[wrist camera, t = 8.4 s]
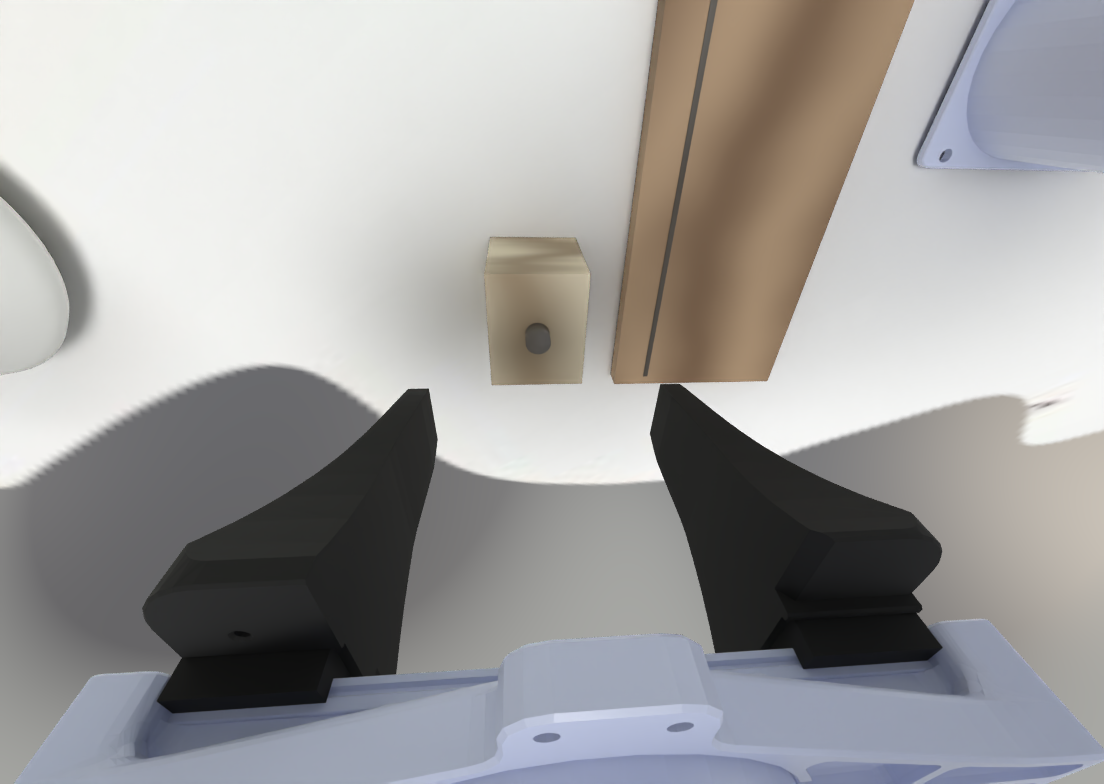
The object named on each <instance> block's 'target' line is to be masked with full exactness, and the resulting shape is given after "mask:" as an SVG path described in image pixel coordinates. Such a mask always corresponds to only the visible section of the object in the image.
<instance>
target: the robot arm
mask: <svg viewBox="0 0 1104 784" xmlns="http://www.w3.org/2000/svg"><path fill="white" fill-rule="evenodd" d="M943 151H945V153H944V156H943V157H942V158H941V159H940V160H939V158H940V155H941V154H942V152H943ZM917 164H918V165H919V166H920V167H924V168H944V169H993V170H1042V171H1091V172H1099V173H1104V0H990V1H989V3H988V5H987V7H986V9H985V12H984V14H983V16H982V18H981V20H980V22H979V24H978V27H977V29H976V31H975V33H974V35H973V37H972V40H971V42H970V44H969V46H968V48H967V50H966V53H965V55H964V57H963V59H962V61H961V63H960V66H959V68H958V70H957V72H956V74H955V76H954V78H953V81H952V83H951V85H950V87H949V89H948V91H947V94H946V96H945V98H944V100H943V102H942V104H941V107H940V109H939V111H938V113H937V115H936V117H935V120H934V122H933V124H932V126H931V128H930V130H929V132H928V135H927V137H926V139H925V141H924V143H923V145H922V148H921V150H920V152H919V154H918V157H917ZM650 436H651V440H652V444H653V448H654V452H655V456H656V460H657V463H658V465H659V468H660V470H661V473H662V475H663V478H664V480H665V483H666V485H667V487H668V490H669V492H670V495H671V497H672V499H673V502H674V504H675V507H676V509H677V512H678V514H679V517H680V519H681V522H682V524H683V527H684V530H685V533H686V536H687V540H688V543H689V547H690V550H691V554H692V557H693V561H694V565H695V568H696V572H697V576H698V580H699V583H700V587H701V591H702V595H703V600H704V604H705V608H706V612H707V617H708V621H709V625H710V630H711V635H712V639H713V644H714V649H715V653H712V654H704V652H703V649H702V646H701V645H700V644H698V643H696V642H695V641H693V640H691V639H689V638H687V637H685V636H683V635H678V634H663V633H658V634H641V635H624V636H610V637H609V636H608V637H594V638H593V637H592V638H576V639H561V640H547V641H543V642H537V643H531V644H526V645H524V646H522V647H520V648H518V649H516V650H515V651H513V652H511V653H509V654H508V655H507V656H506V657H505V658H504V660H503V662H502V664H501V666H500V668H486V669H471V670H457V671H441V672H426V673H411V674H396V669H397V661H398V652H399V643H400V634H401V627H402V619H403V610H404V604H405V596H406V590H407V583H408V576H409V569H410V564H411V558H412V551H413V545H414V541H415V536H416V531H417V527H418V524H419V521H420V517H421V513H422V510H423V506H424V502H425V499H426V495H427V492H428V488H429V484H430V480H431V477H432V473H433V469H434V463H435V456H436V448H437V440H438V439H437V433H436V428H435V422H434V416H433V411H432V405H431V399H430V393H429V389H408V390H407V391H406V392H405V393H404V394H403V395H402V396H401V397H400V398H399V399H398V400H397V401H396V402H395V403H394V404H393V405H392V406H391V408H390V409H389V410H388V411H387V412H386V413H385V414H384V415H383V416H382V417H381V418H380V419H379V420H378V421H377V422H376V423H375V424H374V425H373V426H372V427H371V428H370V429H369V430H368V431H367V432H366V433H365V434H364V435H363V436H362V437H361V438H359V440H357V441H356V442H355V443H354V444H353V445H352V446H351V447H350V448H348V450H346V451H345V452H344V453H343V454H341V455H340V456H339V457H338V458H336V459H335V460H334V461H332V462H331V463H330V464H328V465H327V466H326V467H324V468H323V469H322V470H320V471H319V472H318V473H316V474H315V475H314V476H312V477H310V478H309V479H307V480H306V481H305V482H303V483H301V484H300V485H298V486H297V487H295V488H294V489H292V490H290V491H289V492H288V493H286V494H284V495H283V496H281V497H279V498H278V499H276V500H274V501H272V502H271V503H269V504H267V505H266V506H264V507H262V508H260V509H258V510H256V511H254V512H253V513H251V514H249V515H248V516H245V517H243V518H241V519H239V520H238V521H235V522H234V523H232V524H229V525H227V526H225V527H223V528H221V529H219V530H217V531H214V532H212V533H210V534H208V535H206V536H204V537H202V538H200V539H198V540H195V541H193V542H191V543H188V544H187V545H186V547H185V548H184V549H183V550H182V552H181V553H180V554H179V556H178V557H177V559H176V560H175V561H174V563H173V564H172V565H171V567H170V568H169V569H168V571H167V572H166V574H165V575H164V576H163V578H162V579H161V581H160V582H159V583H158V585H157V586H156V587H155V589H154V590H153V591H152V593H151V594H150V596H149V597H148V598H147V600H146V602H145V604H144V606H143V608H142V609H143V614H144V619H145V621H146V622H147V624H148V625H149V626H150V627H151V629H152V630H153V631H154V632H155V633H156V634H157V635H158V636H159V637H160V638H162V639H163V640H164V641H165V642H166V643H167V644H168V645H169V646H170V647H171V648H172V649H173V650H174V651H175V652H176V653H178V654H179V655H180V656H181V657H182V659H181V660H180V662H179V664H178V665H177V667H176V669H175V671H174V672H173V674H172V676H171V675H169V674H167V673H162V672H154V671H153V672H152V671H146V672H130V673H115V674H99V675H96V676H93V677H91V678H90V679H89V681H88V682H87V683H86V685H85V686H84V687H83V689H82V690H81V692H80V693H79V694H78V696H77V697H76V699H75V700H74V701H73V703H72V704H71V705H70V707H69V708H68V709H67V711H66V712H65V714H64V715H63V716H62V718H61V719H60V720H59V722H58V723H57V725H56V726H55V727H54V729H53V730H52V732H51V733H50V734H49V736H48V737H47V739H46V740H45V741H44V743H43V744H42V745H41V747H40V748H39V749H38V751H37V752H36V754H35V755H34V756H33V758H32V759H31V760H30V762H29V763H28V765H27V766H26V767H25V769H24V770H23V771H22V773H21V774H20V776H19V777H18V778H17V780H16V781H15V782H14V784H1047V783H1050V782H1052V781H1055V780H1057V779H1060V778H1062V777H1065V776H1067V775H1070V774H1073V773H1075V772H1078V771H1080V770H1083V769H1085V768H1088V767H1091V766H1093V765H1095V764H1098V763H1101V762H1103V761H1104V749H1103V747H1102V746H1101V745H1100V744H1099V743H1098V742H1097V741H1096V740H1095V738H1094V737H1093V736H1092V735H1091V734H1090V733H1089V732H1088V731H1087V729H1086V728H1085V727H1084V726H1083V725H1082V724H1081V723H1080V722H1079V721H1078V720H1077V719H1076V717H1075V716H1074V715H1073V714H1072V713H1071V712H1070V711H1069V709H1068V708H1067V707H1066V706H1065V705H1064V704H1063V703H1062V702H1061V700H1060V699H1059V698H1058V697H1057V696H1056V695H1055V694H1054V693H1053V692H1052V690H1051V689H1050V688H1049V687H1048V686H1047V685H1046V684H1045V683H1044V682H1043V680H1042V679H1041V678H1040V677H1039V676H1038V675H1037V674H1036V673H1035V671H1034V670H1033V669H1032V668H1031V667H1030V666H1029V665H1028V664H1027V663H1026V661H1025V660H1024V659H1023V658H1022V657H1021V656H1020V655H1019V654H1018V652H1016V650H1015V649H1014V648H1013V647H1012V646H1011V645H1010V644H1009V642H1008V641H1007V640H1006V639H1005V638H1004V637H1003V636H1002V635H1001V634H1000V632H999V631H998V630H997V629H996V628H995V627H994V626H993V625H992V624H991V622H990V621H989V620H986V619H969V620H953V621H942V622H937V623H934V624H931V625H929V626H926V625H925V624H924V622H923V621H922V620H921V619H920V617H919V616H918V615H917V613H919V612H920V611H921V610H922V605H921V604H920V603H919V602H918V600H917V599H916V598H915V596H914V595H913V594H912V592H913V591H914V590H915V589H916V588H917V587H918V586H919V585H920V584H921V583H922V582H923V581H924V580H925V578H926V577H927V576H928V575H929V574H930V573H931V572H932V571H933V570H934V569H935V567H936V566H937V565H938V563H939V561H940V558H941V554H942V548H941V545H940V543H939V542H938V541H937V540H936V538H935V537H934V536H933V535H932V534H931V533H930V532H929V531H928V530H927V529H926V528H925V527H924V526H923V525H922V524H921V522H920V521H919V520H918V519H917V518H916V517H915V516H914V515H913V514H912V513H911V512H908V511H906V510H903V509H900V508H897V507H894V506H891V505H888V504H886V503H883V502H880V501H877V500H874V499H871V498H869V497H865V496H863V495H861V494H858V493H856V492H853V491H851V490H849V489H846V488H844V487H841V486H839V485H837V484H834V483H832V482H830V481H828V480H825V479H823V478H821V477H819V476H817V475H815V474H813V473H811V472H809V471H807V470H805V469H803V468H801V467H799V466H797V465H795V464H793V463H791V462H789V461H787V460H786V459H784V458H782V457H780V456H779V455H777V454H775V453H774V452H772V451H770V450H769V449H767V448H765V447H764V446H762V445H760V444H759V443H757V442H756V441H754V440H753V439H751V438H750V437H748V436H747V435H746V434H744V433H743V432H741V431H740V430H738V429H737V428H736V427H734V426H733V425H731V424H730V423H729V422H727V421H726V420H725V419H723V418H722V417H721V416H720V415H718V414H717V413H716V412H714V411H713V410H712V409H711V408H709V407H708V406H707V405H706V404H704V403H703V402H702V401H701V400H699V399H698V398H697V397H696V396H694V395H693V394H692V393H691V392H689V391H688V390H687V389H686V388H684V387H683V386H682V385H680V384H660V389H659V393H658V398H657V403H656V408H655V412H654V417H653V422H652V426H651V431H650Z"/></svg>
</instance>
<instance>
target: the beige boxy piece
mask: <svg viewBox="0 0 1104 784" xmlns="http://www.w3.org/2000/svg"><path fill="white" fill-rule="evenodd" d="M590 276H591V274H590V272H589V269H588V267H587V264H586V262H585V260H584V257H583V255H582V252H581V250H580V248H579V245H578V243H577V240H576V238H549V237H490V242H489V248H488V254H487V260H486V266H485V272H484V280H485V295H486V309H487V324H488V339H489V353H490V368H491V382H492V385H528V384H581V383H582V374H583V362H584V350H585V338H586V325H587V313H588V301H589V288H590Z"/></svg>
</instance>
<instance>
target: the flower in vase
mask: <svg viewBox="0 0 1104 784" xmlns="http://www.w3.org/2000/svg"><path fill="white" fill-rule="evenodd" d="M68 322H69V300H68V295H67V290H66V287H65V284H64V282H63V279H62V276H61V274H60V272H59V270H58V268H57V266H56V264H55V262H54V260H53V258H52V257H51V255H50V254H49V252H48V251H47V249H46V247H45V246H44V244H43V243H42V242H41V240H40V239H39V238H38V236H37V235H36V234H35V233H34V231H33V230H32V229H31V228H30V226H29V225H28V224H27V223H26V222H25V221H24V220H23V219H22V218H21V217H20V215H19V214H18V213H17V212H16V211H15V210H14V209H13V208H12V207H11V206H10V205H9V204H8V203H7V202H6V201H5V200H3V199H2V198H1V197H0V375H4V374H9V373H15V372H19V371H23V370H27V369H31V368H33V367H36V366H38V365H40V364H42V363H44V362H45V361H47V360H48V359H50V358H51V357H52V356H53V355H54V354H55V353H56V352H57V351H58V350H59V349H60V347H61V345H62V343H63V341H64V339H65V337H66V332H67V328H68Z"/></svg>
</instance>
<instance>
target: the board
mask: <svg viewBox="0 0 1104 784" xmlns="http://www.w3.org/2000/svg"><path fill="white" fill-rule="evenodd" d="M913 3H914V0H658V7H657V15H656V23H655V30H654V38H653V46H652V54H651V62H650V70H649V78H648V85H647V93H646V101H645V109H644V117H643V125H642V133H641V141H640V148H639V156H638V164H637V172H636V180H635V188H634V196H633V204H632V211H631V219H630V227H629V235H628V243H627V251H626V259H625V266H624V274H623V282H622V290H621V298H620V306H619V314H618V322H617V329H616V337H615V345H614V353H613V361H612V369H611V376H612V379H613V382H614V384H635V383H689V382H743V381H767V380H768V378H769V375H770V373H771V370H772V367H773V365H774V362H775V360H776V357H777V354H778V352H779V349H780V347H781V344H782V341H783V339H784V336H785V334H786V331H787V329H788V326H789V323H790V321H791V318H792V316H793V313H794V310H795V308H796V305H797V303H798V300H799V298H800V295H801V292H802V290H803V287H804V285H805V282H806V279H807V277H808V274H809V272H810V269H811V267H812V264H813V261H814V259H815V256H816V254H817V251H818V248H819V246H820V243H821V241H822V238H823V235H824V233H825V230H826V228H827V225H828V223H829V220H830V217H831V215H832V212H833V210H834V207H835V204H836V202H837V199H838V197H839V194H840V192H841V189H842V186H843V184H844V181H845V179H846V176H847V173H848V171H849V168H850V166H851V163H852V161H853V158H854V155H855V153H856V150H857V148H858V145H859V142H860V140H861V137H862V135H863V132H864V129H865V127H866V124H867V122H868V119H869V117H870V114H871V111H872V109H873V106H874V104H875V101H876V98H877V96H878V93H879V91H880V88H881V86H882V83H883V80H884V78H885V75H886V73H887V70H888V67H889V65H890V62H891V60H892V57H893V55H894V52H895V49H896V47H897V44H898V42H899V39H900V36H901V34H902V31H903V29H904V26H905V23H906V21H907V18H908V16H909V13H910V11H911V8H912V5H913Z"/></svg>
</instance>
